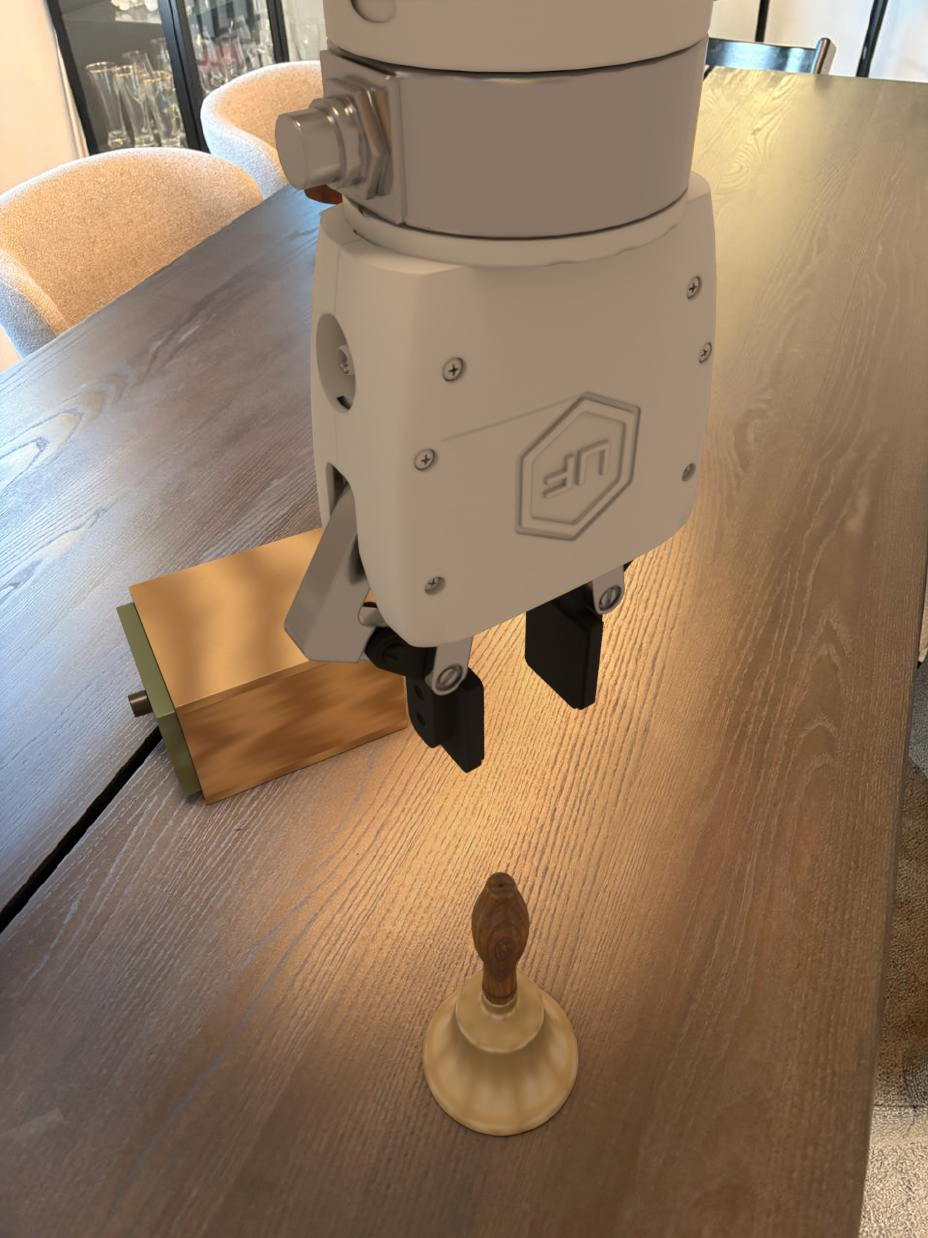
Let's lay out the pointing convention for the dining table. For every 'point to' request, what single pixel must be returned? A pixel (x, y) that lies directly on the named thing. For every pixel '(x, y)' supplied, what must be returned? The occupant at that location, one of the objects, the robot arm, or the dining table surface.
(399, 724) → the cabinet
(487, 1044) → the hand bell
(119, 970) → the dining table surface
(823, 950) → the dining table surface
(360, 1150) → the dining table surface
